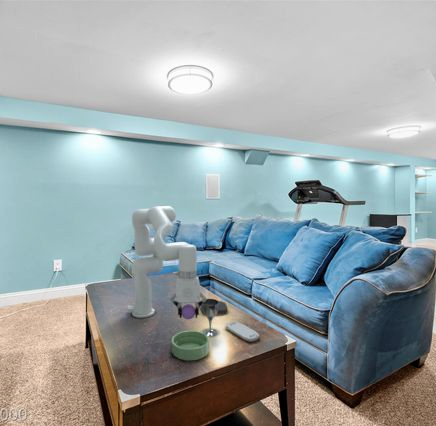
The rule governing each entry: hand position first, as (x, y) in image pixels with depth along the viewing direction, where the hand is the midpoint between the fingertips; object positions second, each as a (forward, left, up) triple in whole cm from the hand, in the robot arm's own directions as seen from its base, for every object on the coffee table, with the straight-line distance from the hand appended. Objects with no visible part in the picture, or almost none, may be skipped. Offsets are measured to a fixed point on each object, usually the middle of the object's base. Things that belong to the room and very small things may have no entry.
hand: (188, 316), depth 114 cm
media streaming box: (+13, +43, -15) cm, 47 cm away
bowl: (+1, 0, -15) cm, 15 cm away
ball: (0, 0, -1) cm, 1 cm away
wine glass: (+10, +16, -15) cm, 24 cm away
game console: (+25, +15, -15) cm, 32 cm away
